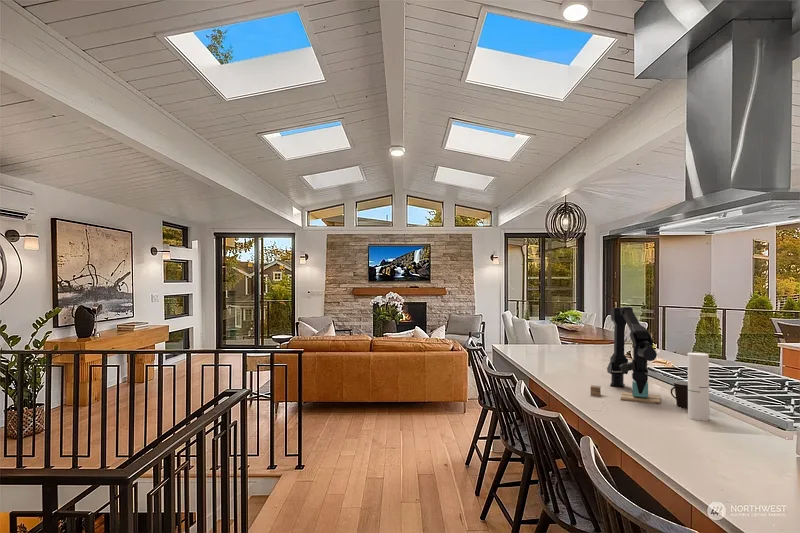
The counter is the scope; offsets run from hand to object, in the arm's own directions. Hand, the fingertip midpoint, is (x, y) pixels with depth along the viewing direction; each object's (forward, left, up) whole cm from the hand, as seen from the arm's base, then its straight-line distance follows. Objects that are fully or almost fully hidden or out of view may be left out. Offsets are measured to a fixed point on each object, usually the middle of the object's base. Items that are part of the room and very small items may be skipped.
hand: (640, 391), depth 232 cm
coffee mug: (+8, +16, -3) cm, 18 cm away
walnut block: (+1, -19, -3) cm, 19 cm away
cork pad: (0, 0, -3) cm, 3 cm away
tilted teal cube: (0, 0, -2) cm, 2 cm away
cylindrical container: (+25, +21, -3) cm, 33 cm away
